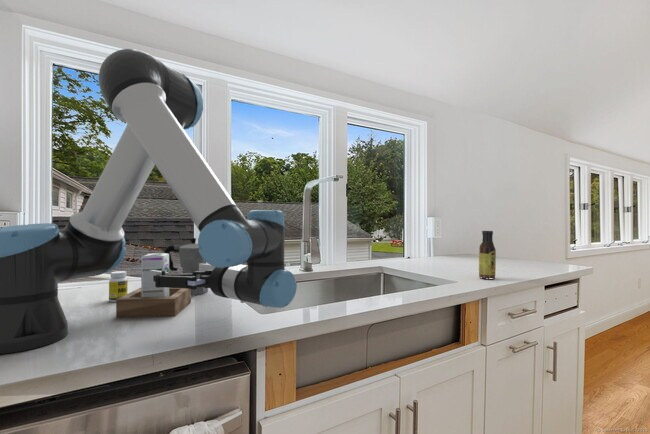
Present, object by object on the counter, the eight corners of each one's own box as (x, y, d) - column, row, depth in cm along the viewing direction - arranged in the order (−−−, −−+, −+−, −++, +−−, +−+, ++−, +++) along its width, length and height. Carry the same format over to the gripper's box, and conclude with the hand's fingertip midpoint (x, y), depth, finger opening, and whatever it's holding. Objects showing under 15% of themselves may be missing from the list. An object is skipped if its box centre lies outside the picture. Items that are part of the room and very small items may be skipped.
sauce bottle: (494, 280, 139) (495, 231, 139) (477, 279, 143) (478, 230, 143) (496, 278, 145) (496, 230, 145) (479, 276, 148) (480, 230, 148)
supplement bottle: (118, 302, 100) (118, 273, 100) (104, 301, 101) (105, 273, 101) (131, 298, 105) (131, 271, 105) (117, 298, 106) (117, 270, 106)
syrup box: (164, 310, 91) (165, 255, 91) (140, 311, 90) (140, 255, 90) (170, 304, 97) (170, 252, 97) (147, 305, 96) (147, 252, 96)
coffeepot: (214, 288, 121) (214, 236, 121) (214, 294, 112) (214, 238, 112) (165, 291, 116) (166, 237, 116) (161, 297, 107) (162, 239, 107)
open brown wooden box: (174, 316, 87) (174, 298, 87) (116, 317, 86) (116, 299, 86) (190, 302, 101) (190, 287, 101) (140, 303, 100) (140, 287, 100)
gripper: (182, 311, 66) (126, 295, 78) (272, 288, 87) (217, 279, 99) (182, 271, 66) (126, 262, 78) (272, 258, 87) (217, 252, 99)
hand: (177, 271), depth 88 cm, fingers open, 13 cm apart
